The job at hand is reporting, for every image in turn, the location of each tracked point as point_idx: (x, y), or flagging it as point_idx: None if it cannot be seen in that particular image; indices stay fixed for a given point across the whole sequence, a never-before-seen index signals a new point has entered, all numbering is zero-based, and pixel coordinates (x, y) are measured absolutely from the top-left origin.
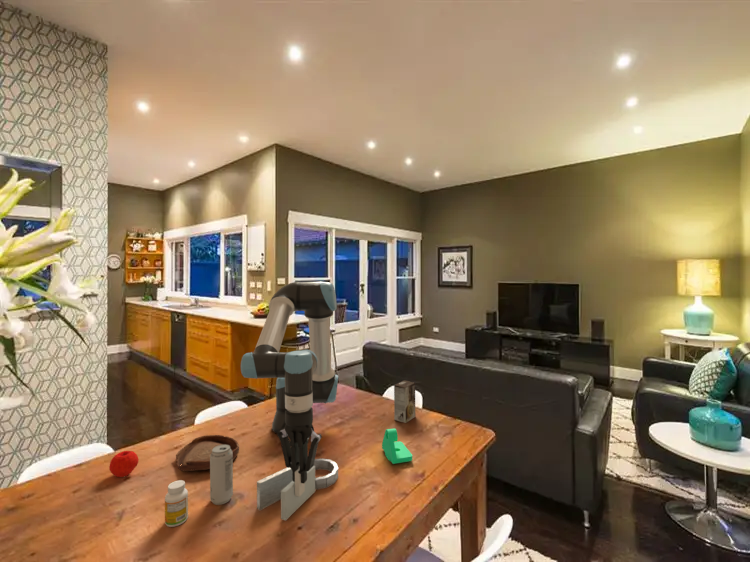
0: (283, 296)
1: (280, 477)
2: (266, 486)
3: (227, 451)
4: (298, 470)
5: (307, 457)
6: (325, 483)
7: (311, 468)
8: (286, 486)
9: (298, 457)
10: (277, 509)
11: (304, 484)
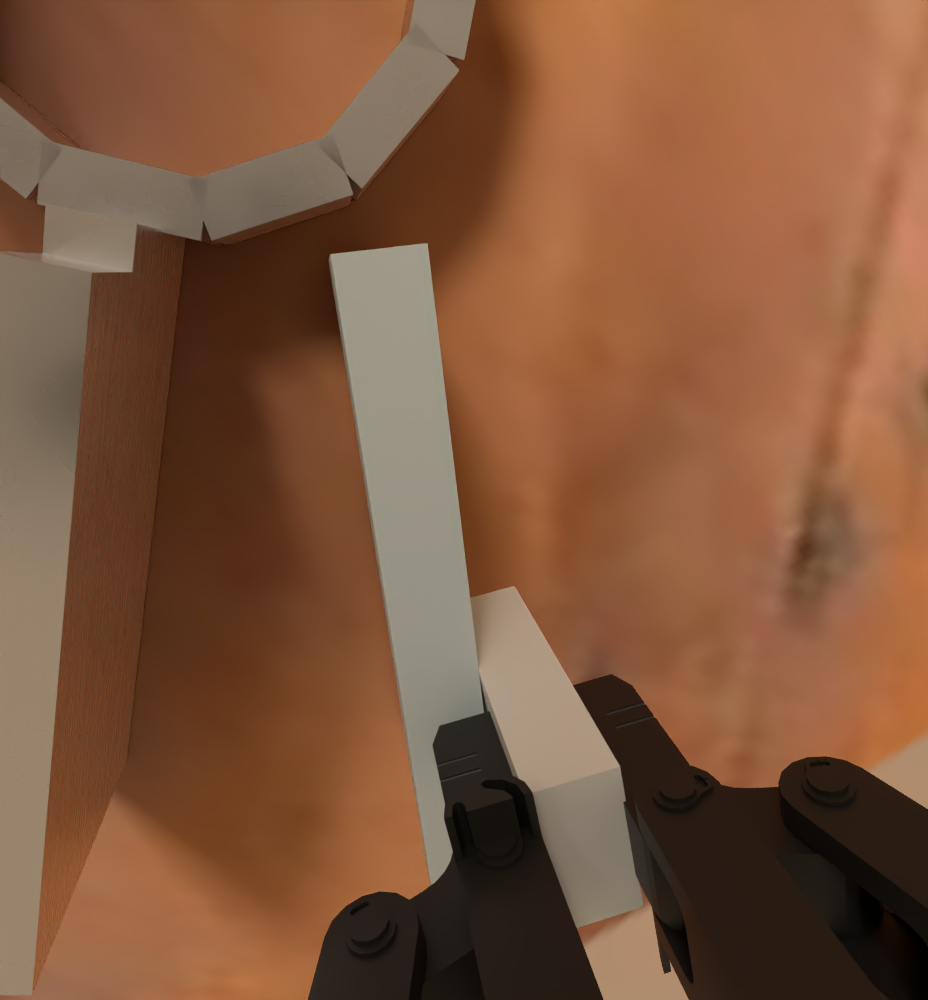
0: None
1: (76, 672)
2: (69, 844)
3: None
4: (583, 877)
5: (834, 943)
6: (440, 96)
7: (416, 339)
8: (431, 863)
9: None
10: (255, 661)
11: (538, 627)
